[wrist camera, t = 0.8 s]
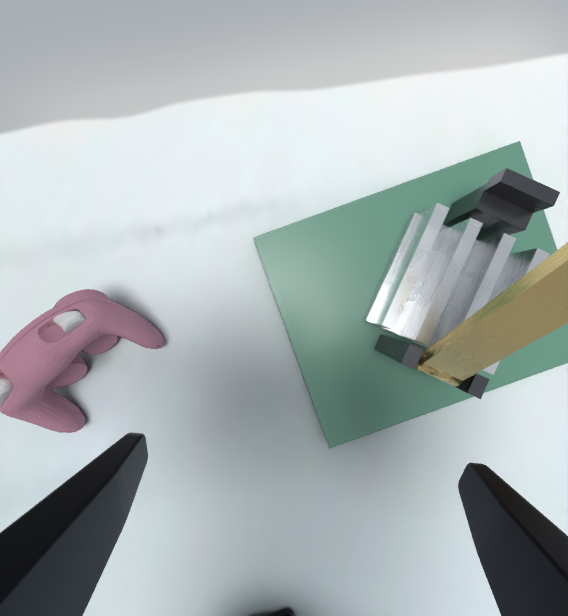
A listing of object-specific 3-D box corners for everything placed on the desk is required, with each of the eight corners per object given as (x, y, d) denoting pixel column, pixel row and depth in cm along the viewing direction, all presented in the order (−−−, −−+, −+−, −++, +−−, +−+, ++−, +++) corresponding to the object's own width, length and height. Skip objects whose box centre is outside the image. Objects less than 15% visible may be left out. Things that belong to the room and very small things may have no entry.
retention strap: (450, 373, 19) (451, 389, 18) (414, 356, 19) (413, 372, 18) (665, 243, 10) (681, 264, 10) (600, 213, 10) (611, 232, 10)
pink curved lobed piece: (147, 303, 25) (63, 265, 19) (174, 342, 23) (91, 315, 17) (60, 391, 25) (-53, 384, 19) (80, 437, 23) (-38, 447, 17)
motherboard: (579, 351, 23) (592, 353, 22) (327, 442, 23) (329, 448, 22) (509, 148, 23) (519, 141, 22) (254, 240, 23) (253, 237, 22)
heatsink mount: (455, 385, 22) (507, 410, 17) (353, 340, 22) (374, 351, 17) (525, 231, 22) (600, 210, 17) (423, 185, 22) (466, 149, 17)
